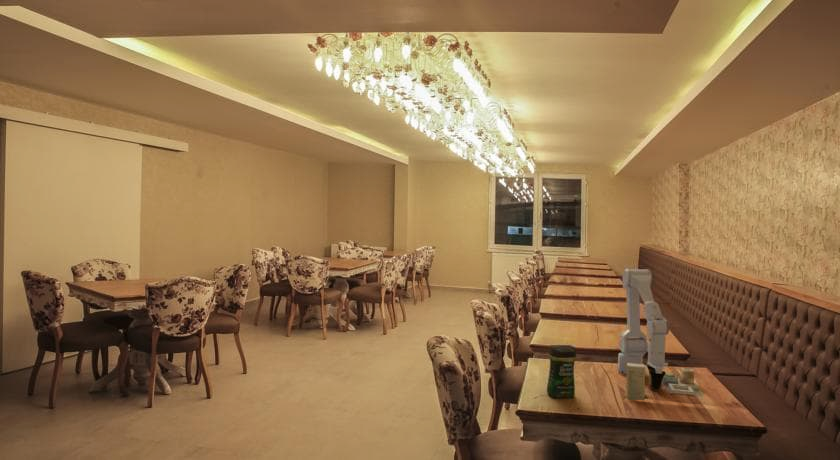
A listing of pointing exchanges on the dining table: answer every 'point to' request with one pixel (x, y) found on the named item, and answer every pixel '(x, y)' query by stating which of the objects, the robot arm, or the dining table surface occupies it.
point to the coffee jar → (561, 371)
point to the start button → (669, 375)
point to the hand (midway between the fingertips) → (655, 386)
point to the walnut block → (652, 386)
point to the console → (670, 379)
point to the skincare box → (635, 381)
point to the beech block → (687, 376)
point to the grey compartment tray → (684, 389)
